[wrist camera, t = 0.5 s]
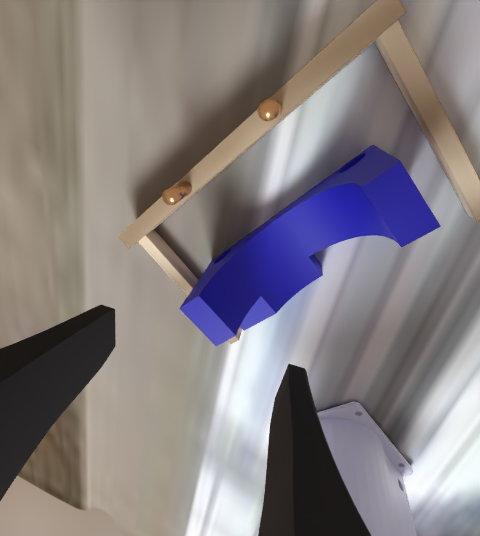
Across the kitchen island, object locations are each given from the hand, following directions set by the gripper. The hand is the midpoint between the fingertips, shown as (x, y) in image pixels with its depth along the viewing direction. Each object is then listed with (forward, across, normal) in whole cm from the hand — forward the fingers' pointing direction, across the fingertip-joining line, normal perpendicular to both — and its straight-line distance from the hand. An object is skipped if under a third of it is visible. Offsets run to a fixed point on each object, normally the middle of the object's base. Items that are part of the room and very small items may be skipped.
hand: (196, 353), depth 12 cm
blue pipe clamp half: (+10, -3, -2) cm, 11 cm away
